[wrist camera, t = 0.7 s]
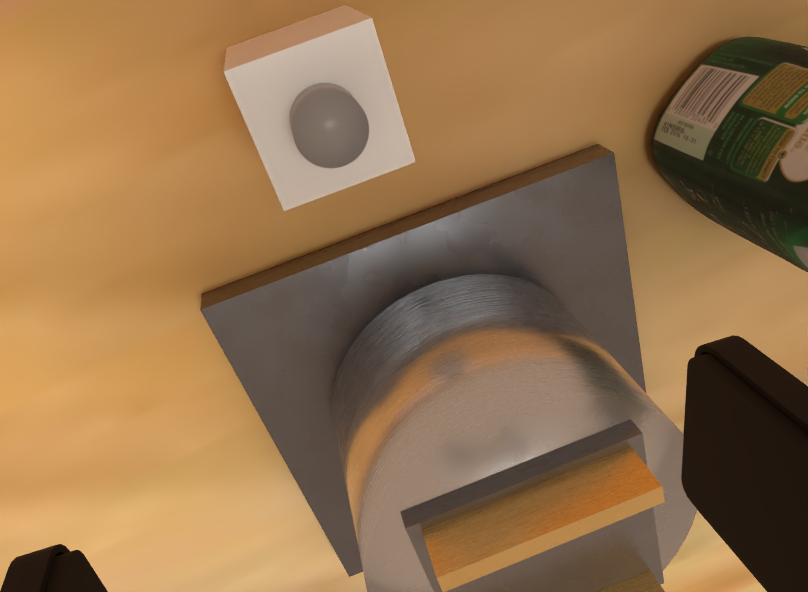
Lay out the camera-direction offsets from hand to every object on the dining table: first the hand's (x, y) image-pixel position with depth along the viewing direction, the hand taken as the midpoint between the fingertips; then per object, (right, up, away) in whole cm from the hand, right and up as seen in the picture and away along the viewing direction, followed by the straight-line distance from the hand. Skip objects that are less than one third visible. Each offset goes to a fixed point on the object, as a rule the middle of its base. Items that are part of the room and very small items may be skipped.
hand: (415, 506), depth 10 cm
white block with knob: (-4, +12, +17) cm, 21 cm away
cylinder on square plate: (+3, -1, +26) cm, 26 cm away
